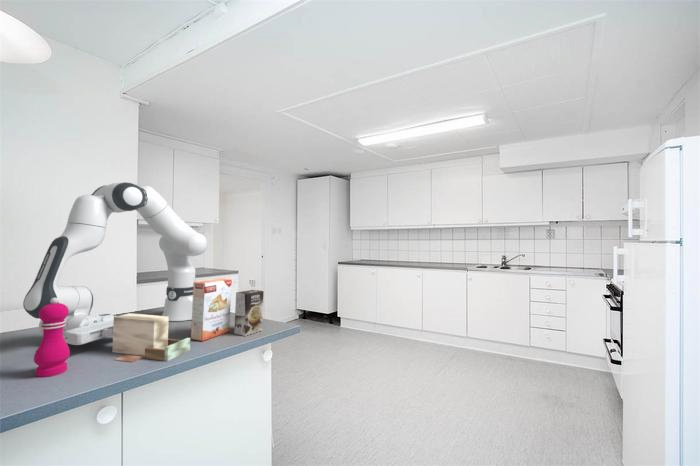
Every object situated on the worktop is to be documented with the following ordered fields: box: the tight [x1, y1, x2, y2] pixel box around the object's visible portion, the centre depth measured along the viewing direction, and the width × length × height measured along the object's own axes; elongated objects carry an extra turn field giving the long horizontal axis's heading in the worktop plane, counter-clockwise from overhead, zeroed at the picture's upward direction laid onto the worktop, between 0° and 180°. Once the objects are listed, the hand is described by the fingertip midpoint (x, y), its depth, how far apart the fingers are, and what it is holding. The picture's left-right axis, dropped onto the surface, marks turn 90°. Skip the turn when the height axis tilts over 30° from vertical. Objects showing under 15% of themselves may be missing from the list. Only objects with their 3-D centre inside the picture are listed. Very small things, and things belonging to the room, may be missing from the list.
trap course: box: [114, 337, 191, 363], centre depth 107 cm, size 17×21×4 cm
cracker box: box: [190, 278, 233, 342], centre depth 126 cm, size 14×6×21 cm, turn 158°
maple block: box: [112, 312, 170, 357], centre depth 107 cm, size 6×15×11 cm, turn 78°
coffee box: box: [233, 289, 265, 337], centre depth 131 cm, size 9×6×16 cm
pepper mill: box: [33, 298, 71, 378], centre depth 90 cm, size 7×7×20 cm
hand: (121, 332), depth 109 cm, fingers closed, pressing on maple block
